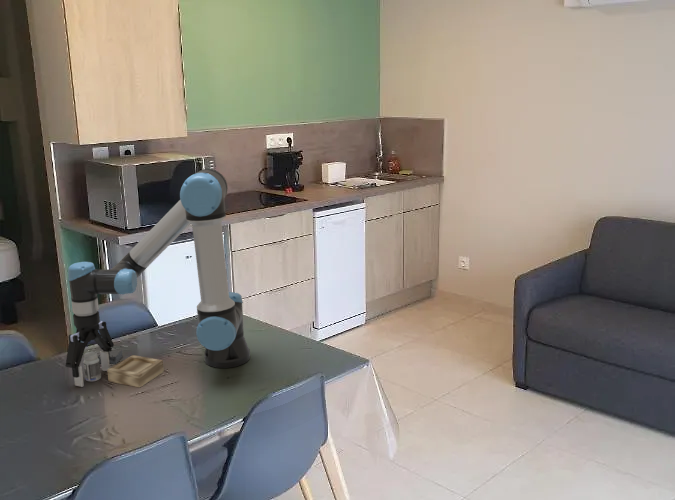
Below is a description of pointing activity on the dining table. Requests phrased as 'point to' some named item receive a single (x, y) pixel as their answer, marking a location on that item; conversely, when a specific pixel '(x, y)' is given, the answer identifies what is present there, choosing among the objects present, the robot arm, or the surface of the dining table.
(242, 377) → the dining table surface
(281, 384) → the dining table surface
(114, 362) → the black tin
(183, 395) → the dining table surface
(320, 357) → the dining table surface
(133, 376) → the stand
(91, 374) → the pill bottle
